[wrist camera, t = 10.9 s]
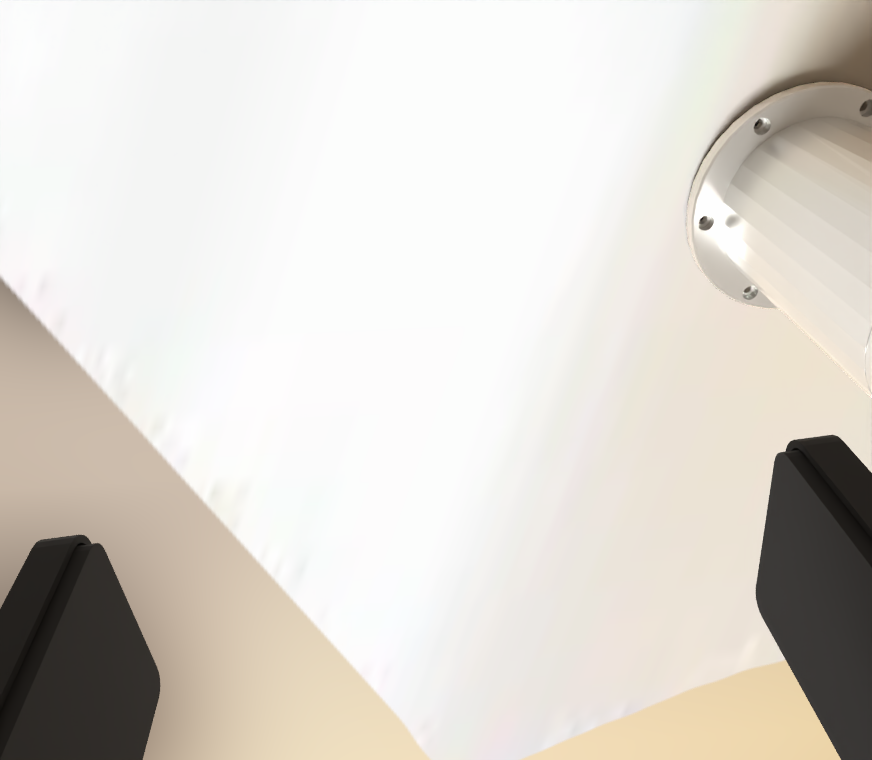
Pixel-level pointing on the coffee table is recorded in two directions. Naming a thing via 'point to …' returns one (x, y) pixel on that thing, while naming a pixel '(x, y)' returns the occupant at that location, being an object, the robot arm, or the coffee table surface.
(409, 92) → the coffee table surface
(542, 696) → the coffee table surface
